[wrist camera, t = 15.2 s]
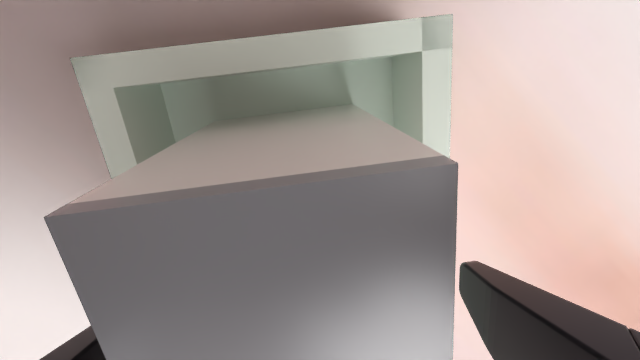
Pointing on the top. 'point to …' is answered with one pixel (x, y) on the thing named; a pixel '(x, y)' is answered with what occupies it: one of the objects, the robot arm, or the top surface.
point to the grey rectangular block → (271, 244)
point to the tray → (271, 83)
